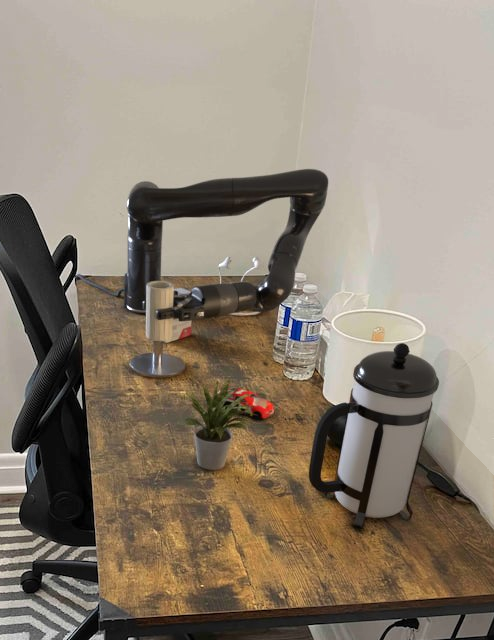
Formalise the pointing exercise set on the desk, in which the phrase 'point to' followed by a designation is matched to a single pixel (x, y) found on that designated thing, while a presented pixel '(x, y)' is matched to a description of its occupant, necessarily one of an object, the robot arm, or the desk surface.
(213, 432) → the house plant
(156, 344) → the stand
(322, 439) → the coffee press
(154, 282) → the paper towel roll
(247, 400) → the race car
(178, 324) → the ink box
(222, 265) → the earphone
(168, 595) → the desk surface
